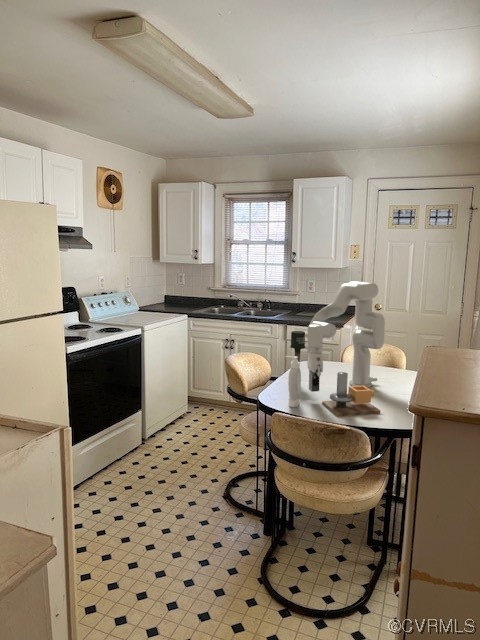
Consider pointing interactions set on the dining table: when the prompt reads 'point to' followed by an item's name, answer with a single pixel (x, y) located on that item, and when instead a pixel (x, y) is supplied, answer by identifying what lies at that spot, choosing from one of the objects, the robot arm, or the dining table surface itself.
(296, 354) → the potato masher grenade
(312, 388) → the dark gray block
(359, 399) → the orange open box
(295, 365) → the soap bottle
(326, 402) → the base plate
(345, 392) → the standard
